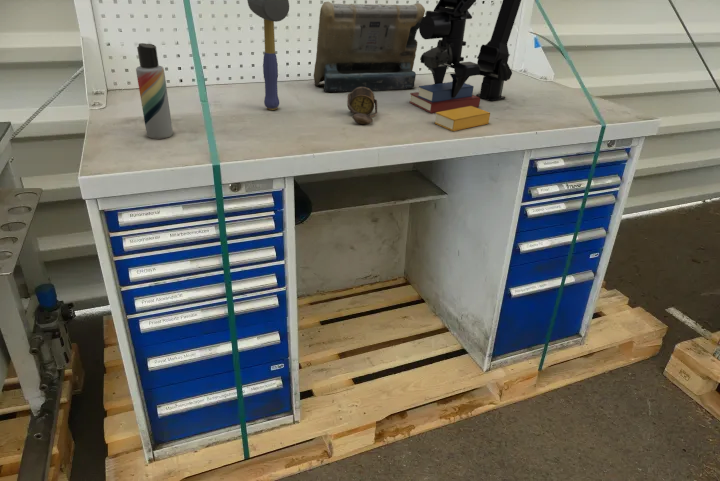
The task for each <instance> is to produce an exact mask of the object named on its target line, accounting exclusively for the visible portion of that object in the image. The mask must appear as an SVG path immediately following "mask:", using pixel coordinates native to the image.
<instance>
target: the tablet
mask: <svg viewBox="0 0 720 481" xmlns="http://www.w3.org/2000/svg"><path fill="white" fill-rule="evenodd" d="M425 14H426V9H425V7H424V5H423V4H422V3H419V2H417V3H413V4H383V3H382V4H381V3H378V4H374V3H373V4H369V3H368V4H367V3H365V4H364V3H349V4H347V3H332V2H330V1H323V3H322V5H321V7H320V10H319V17H318V20H319V21H318V29H317V42H316V56H315V62H314V68H313V69H314V71H313V80H314V85H315V86H319V85H320V83H322V82H324V84H323V92H324V93H331V92H332V93H333V92H352V91H353V90H354V89H356V88H358V87H367V88H369V89H371V91H372V92H373V91H392V90H407V89H415V88H416V87H415V83H416V76H417V73H416V71H414V70H413V69H414V66H415V60H416V55H417V54H416V53H417V51H418V50H417V49H418V40H417V39H416V36H417V33H418V31H419V24H420V22H421V20H422V18H423V17H425Z"/></svg>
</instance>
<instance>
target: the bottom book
mask: <svg viewBox="0 0 720 481" xmlns="http://www.w3.org/2000/svg"><path fill="white" fill-rule="evenodd" d="M409 95H410V98H409V99H410V100H409V104H412V106H415V107H417V108H419V109H421V110H423V111H426V112H427V113H429V114H436V112H441V111H446V110H451V109H457V108H462V107H468V106H473V107H476V108H478V109H479V107H480V104H481V97H478V96H476V95H474V94H472V97H466V98H460V99H453V100H446V101H440V102H433V103H432V102H429V101H427V100H425V99H422V98H420V97H418V96H419V91H417V92H416V91H415V92H410V93H409Z"/></svg>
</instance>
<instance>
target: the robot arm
mask: <svg viewBox="0 0 720 481" xmlns="http://www.w3.org/2000/svg"><path fill="white" fill-rule="evenodd" d="M476 1H477V0H439V1H438V2H437V4H436V5H435V7H434V9H433V10H425V15H424V17H423V18H422V20H421V22H420V24H419V29H418V31H419V34H420V36H421V38H422V39H424V40H434V39H438V41H437V44H436V46H435V47H432V48H430V49H428V50H426V51H425V52H424V51H423V53H422V54H421V56H420V63H421V64H423V65H424V67H426V68H427V69H428V70H429V71H430V72H431V74H432V78H433V82H434V84H439V83H444V80H445V76H446V73H447V69H448V68H450V69H454V70H453V71H454V72H453V73H450V74H449V75H450V77H451V79H452V82H453V83H452V98H455V97H456V95H457V94H458V92H459V91H460V89H461V87H462V86H463V84H464V83H466V82H467V80H468V79H469V78H470V77H474V76H482V82H481V85H480V91H479V93H476V95H475V96H477V97H479V98H480V99H481V98H482V99H484V100H487V101H490V102H493V101H499V100H505V99H506V96H503V95H502V94H503V89H504V84H505V82H508V81H509V80H511V77H512V75H513V71H512V69H511V67H510V66H509V62H508V61H509V57H510V52H509V47H508V43H509V39H510V37H511V34H512V30H513V28H514V25H515V22H516V19H517V16H518V15H517V14H518V12H519V9H520V6H521V3H522V0H502V3H501V4H500V8H499V11H498V15H497V18H496V22H495V24H494V28H493V31H492V34H491V37H490V39H489V40H488V42H487V43H486V44H481V46H480V49H479V53H478V55H477V56H476V59H477V63H476V62H472V61H464V60H465V57H464V56H462V52H463V47H466V46H467V41H465V40H464V37H465V30H466V23H467V20H471V19H473V15H472V14H471V13H470V12H469V10H470V9H471V8H472V6H473V5H474V4H475V3H476Z"/></svg>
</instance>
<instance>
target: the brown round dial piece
mask: <svg viewBox="0 0 720 481" xmlns="http://www.w3.org/2000/svg"><path fill="white" fill-rule="evenodd" d="M346 105H347V109H348V111H349V112H351V113H352V116H351V117H352V119H353V121H354V122H355V123H357V124H359V125H368V124H372V123H373V118H375V117H376V116H377V114H378V100H377V99H376V96H375V94H374V92H373V91H371V89H369V88H367V87H358V88H356V89H354V90H353V91H350V92H349V93H348V94H347V101H346ZM373 111H374V113H372V112H373Z"/></svg>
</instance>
